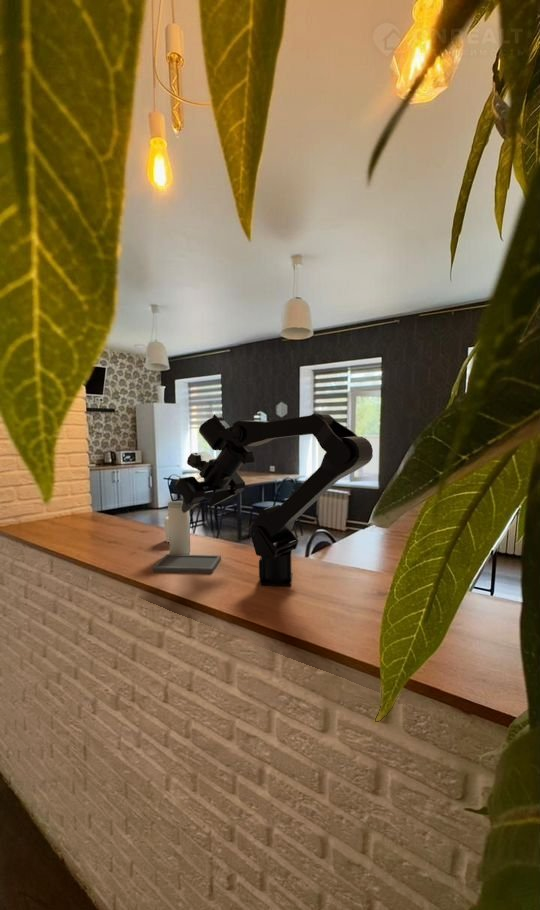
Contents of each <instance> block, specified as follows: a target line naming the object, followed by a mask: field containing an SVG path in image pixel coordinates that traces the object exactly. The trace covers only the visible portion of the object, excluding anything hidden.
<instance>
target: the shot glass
mask: <svg viewBox="0 0 540 910" xmlns="http://www.w3.org/2000/svg"><path fill="white" fill-rule="evenodd" d="M162 520H163V526H164V527H163V528H164V535H165V541H166V542H167V543H168V542H169V520H168V515H166V516H164V517H163V519H162Z"/></svg>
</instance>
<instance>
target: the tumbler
mask: <svg viewBox="0 0 540 910" xmlns="http://www.w3.org/2000/svg"><path fill="white" fill-rule="evenodd" d="M182 504H183V500H173V501H169V502H167V509H168V510H167V513H168V515H167V516H168V520H169V554H171V555H191V553H190V552H191V526H190V525H191V524H190V523H191V521H190V519H191V518H190V516H191V515H190V510H189V511H187V512H186V513H183V512H182Z"/></svg>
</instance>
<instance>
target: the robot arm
mask: <svg viewBox="0 0 540 910" xmlns="http://www.w3.org/2000/svg"><path fill="white" fill-rule="evenodd" d="M198 429H199V430H198V432H199V434H200V435H201V437H202V438H203V439H204V440H205V442H206V443H207V444H208V445H209V447H210V448H211V449H212V451H220V452H219V454H218V455H217V456H216V457H215V456H213V455H212V454H210V453H208V452H205V451H204V452H203V451H202V452H191V453H190V454H189V456H188V457H187V460H186V464H187V465H188V466H190V468H191V467H192V468H193V469H196V471H199V476H200V478H202V479H203V482H199V481H198V480H197V478H196V477H195V476H186V477H179V478H178V480H177V481H176V483H175V488H176V489H177V490H178V492H179V493H180V495H181V496H182V501H183V504H182V512H183V513H186V512H187V511H189V512H190V511H191V510H192V509H194V508H195V507H196V506H198V505H199V504H201V503H202V501H203V500H204V498H205V496H206V493H211V492H213V494H212V496H211V498H210V500H209V502H208V504H209V507H214V506H216V505H217V504H220V503H222V502H224V501H226V500H228V499H229V498H230V499H231V498H232V497H234V496H237V495H238V494H241V493H243V491H244V490H245V488H246V482H245V481H244V479H243V478H242V477H241V476H240V474H239V473H238V471H239V469H240V468H241V467H242V465H248V464H255V462H256V461H255V457H254V453H253V451H249V450H248V448H247V447H257V446H261V445H263V444H266V443H269V442H271V441H272V440H275V439H281V438H282V439H283V438H290V437H298V436H308V435H313V437H315V439H316V441H317V443H318V445H319V446H320V448H321V449H322V450H323V451H325V454H324V456H323V458H322V460H321V463H320V465H319V467H318V468H317V469H316V470H315V471H314V472H313V473H312V474H311V475H310V476H309V477H308V478H307V479H306V480H305V481H304V482H303V483H302V484H301V485H300V486H299V487H298V488H297V489H296V490H295V491H294V492H293V493H292V494H291V495H290V496H288V498H287V499H285V500H284V502H282V504H281V505H280V504H276V505H273V506H270V507H267V508H263V509H261V511H260V512H259V513H258V515H257V516H256V517H255V518H252V519H251V521H252V524H251V525H250V527H249V531H250V532H249V534H250V538H251V542H252V544H253V548H254V551H255V555H256V556H258V557H259V560H258V578H259V580H260V585H261V586H287V587H288V586H289V587H291V586H292V583H293V582H292V581H293V572H292V569H293V568H292V567H293V566H292V564H293V563H292V557H293V556H292V551H293V550H297V547H298V544H299V539H298V538H297V537H296V535H295V534H294V533H293V532H292V529H293V527H294V525H295V522H296V520H297V519H298V518H300V516H302V514H304V513H305V512H306V510H308V509H309V508H310V507H311V506H312V505H314V503H315V502H317V501H318V499H320V498H321V497H322V496H323V495H324V494H325V493H327V491H329V490H330V489H331V488H332V487H333V486H334V485H335V484H336V483H337V482H338V481H340V480H341V479H343V478H345V477H347V476H348V475H351V474H352V473H355V472H356V471H358V470H359V469H361V468H363V467H364V466H366V465H367V464H369V463H370V462H371V460H372V459H373V457H374V455H373V447H372V444H371V442H370V440H368V439H367V438H366V437H363V436H358V435H357V434H356V433H355V432H354V431H352V430H351V429H349V428H348V427H346V426H344V425H343V424H341V423H340V422H338V420H336V419H335V418H334V417H332V416H331V415H330V414H329V413H322V412H321V413H320V412H319V413H312V414H310V415H304V416H298V417H297V416H296V417H290V418H284V419H278V420H277V419H276V420H271V421H268V420H267V421H266V420H236V421H234V422H233V423H232V426H230V425H229V424H228V423H227V421H225V418H224V417H223V416H222V415H221V414H214V415H213V416H212V417H211V418H209V419H207V420H206V421H204V422H203V423H201V424H200V426H199V428H198Z"/></svg>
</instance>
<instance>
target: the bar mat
mask: <svg viewBox="0 0 540 910" xmlns="http://www.w3.org/2000/svg"><path fill="white" fill-rule="evenodd" d="M221 561H222V555H219V554H218V555H213V554H210V555H208V554H207V555H206V554H188V555H171V554H170V553H169V554H165V555H164V556H163V557H162V558H161V559H160V560H159V561H158V562H157V563H156V564H154V565H153V567H152V572H153V573H184V574H186V573H191V574H192V573H193V574H194V573H195V574H196V573H197V574H213V573H214V571H215V570H216V568H217V567H218V565H219V564H220V562H221Z"/></svg>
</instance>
